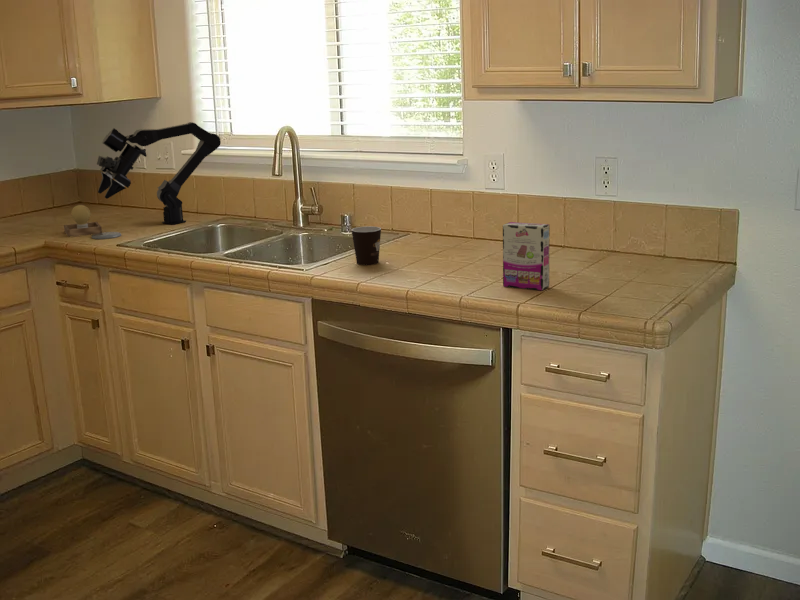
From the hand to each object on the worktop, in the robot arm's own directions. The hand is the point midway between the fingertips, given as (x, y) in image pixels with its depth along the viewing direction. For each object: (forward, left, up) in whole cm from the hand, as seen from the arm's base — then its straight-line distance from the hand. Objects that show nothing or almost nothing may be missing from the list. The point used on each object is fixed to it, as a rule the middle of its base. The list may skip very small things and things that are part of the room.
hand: (102, 195), depth 327 cm
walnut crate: (+7, -4, -13) cm, 15 cm away
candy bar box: (-1, +171, -13) cm, 171 cm away
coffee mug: (-5, +118, -13) cm, 119 cm away
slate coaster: (+7, +10, -13) cm, 18 cm away
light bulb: (+7, -4, -13) cm, 15 cm away
